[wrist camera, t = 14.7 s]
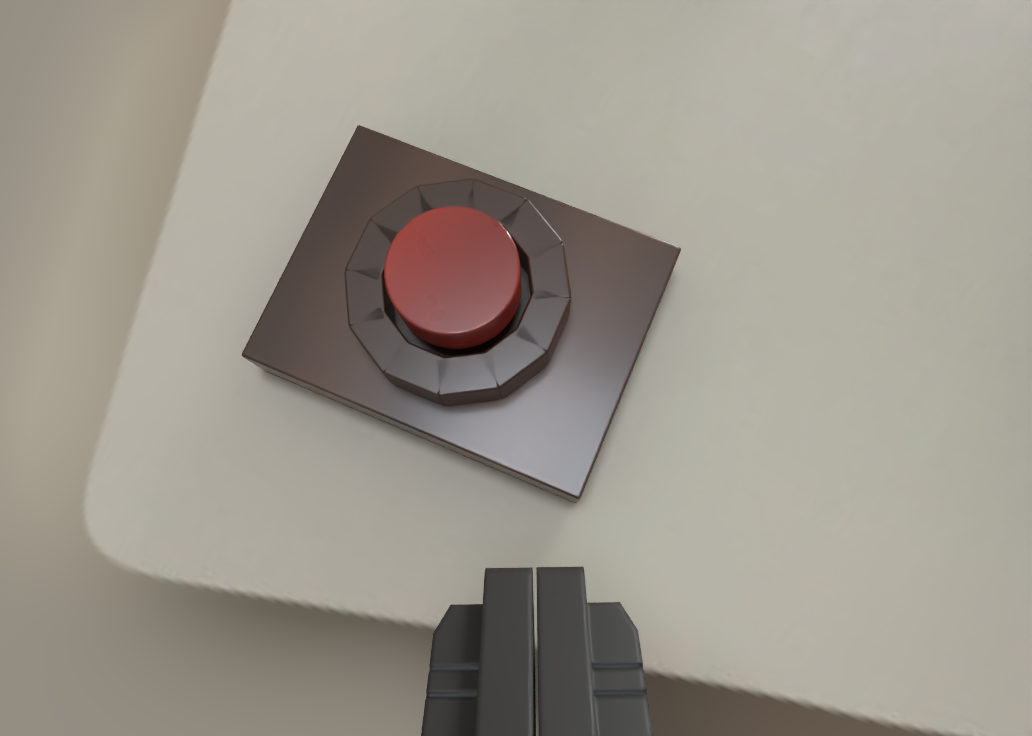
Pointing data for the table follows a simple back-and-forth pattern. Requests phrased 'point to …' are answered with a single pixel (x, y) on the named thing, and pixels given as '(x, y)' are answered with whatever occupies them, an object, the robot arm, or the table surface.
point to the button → (454, 276)
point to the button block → (486, 367)
